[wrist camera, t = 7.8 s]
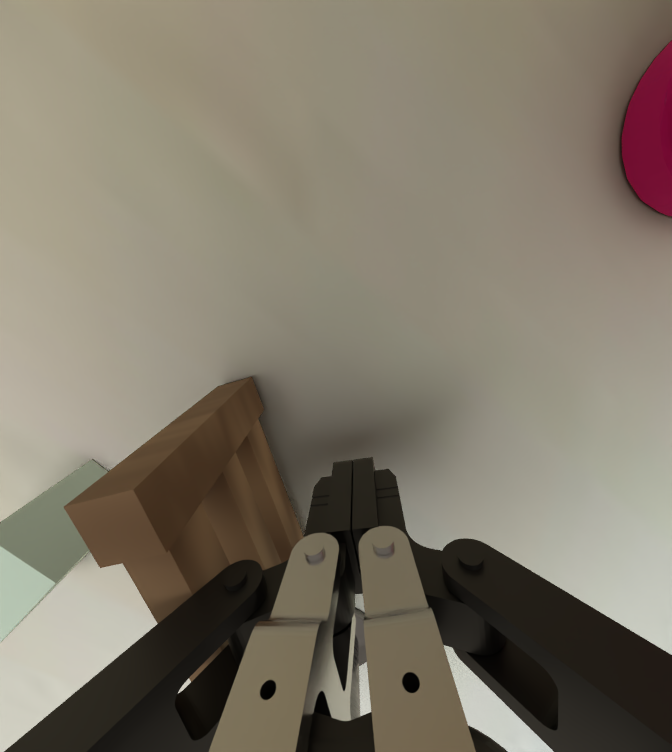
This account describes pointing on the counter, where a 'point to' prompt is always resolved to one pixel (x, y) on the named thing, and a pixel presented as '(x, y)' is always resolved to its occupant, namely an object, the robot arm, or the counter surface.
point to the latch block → (40, 547)
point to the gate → (191, 503)
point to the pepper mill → (651, 135)
